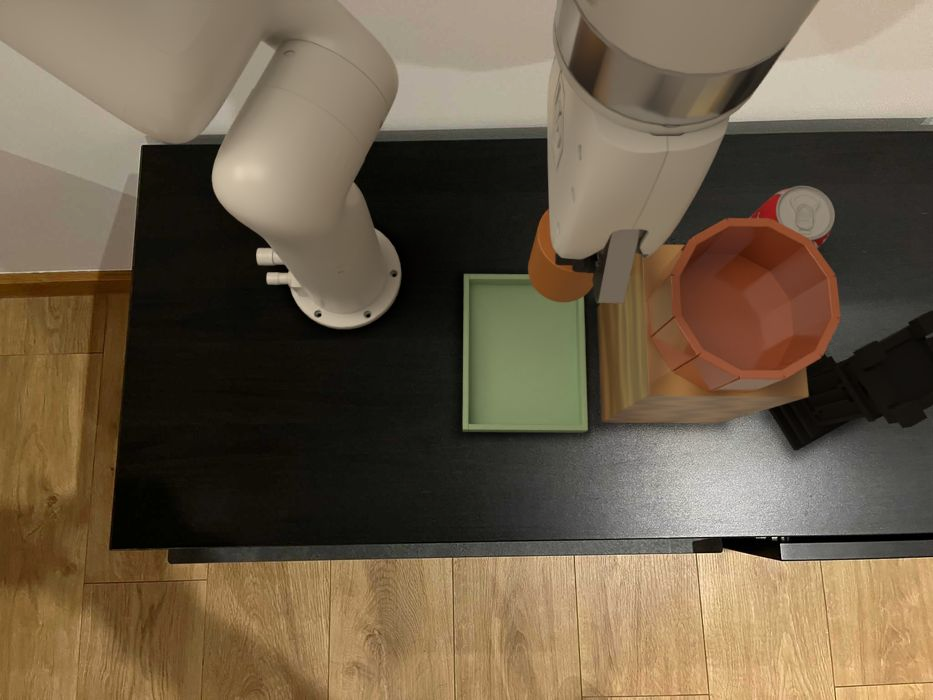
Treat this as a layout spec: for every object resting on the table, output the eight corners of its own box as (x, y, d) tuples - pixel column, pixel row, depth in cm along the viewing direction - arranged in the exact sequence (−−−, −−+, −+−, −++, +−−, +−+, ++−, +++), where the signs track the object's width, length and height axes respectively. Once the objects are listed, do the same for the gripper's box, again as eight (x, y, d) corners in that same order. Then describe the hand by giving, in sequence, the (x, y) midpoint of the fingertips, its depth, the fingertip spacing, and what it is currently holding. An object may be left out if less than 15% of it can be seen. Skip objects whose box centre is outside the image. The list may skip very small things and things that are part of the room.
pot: (652, 392, 56) (676, 378, 50) (645, 247, 59) (666, 217, 53) (805, 393, 56) (848, 379, 50) (790, 248, 59) (830, 218, 53)
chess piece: (794, 450, 75) (910, 433, 56) (754, 385, 77) (853, 347, 57) (855, 416, 76) (991, 388, 56) (814, 353, 77) (933, 304, 58)
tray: (462, 431, 75) (462, 429, 73) (463, 280, 79) (463, 273, 77) (583, 432, 75) (588, 430, 73) (579, 281, 79) (583, 274, 77)
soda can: (786, 228, 81) (841, 182, 69) (786, 286, 79) (842, 249, 67) (725, 223, 81) (770, 175, 69) (724, 280, 79) (769, 242, 67)
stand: (601, 422, 76) (648, 395, 56) (597, 307, 78) (641, 244, 59) (719, 423, 76) (809, 396, 56) (711, 308, 78) (794, 245, 59)
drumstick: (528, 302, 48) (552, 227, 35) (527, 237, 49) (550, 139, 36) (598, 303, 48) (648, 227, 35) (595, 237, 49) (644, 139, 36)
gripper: (552, -199, 24) (515, 97, 42) (564, 247, 21) (518, 364, 39) (765, -198, 24) (638, 98, 42) (813, 248, 21) (652, 365, 39)
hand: (581, 224), depth 40 cm, fingers closed on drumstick, 3 cm apart
